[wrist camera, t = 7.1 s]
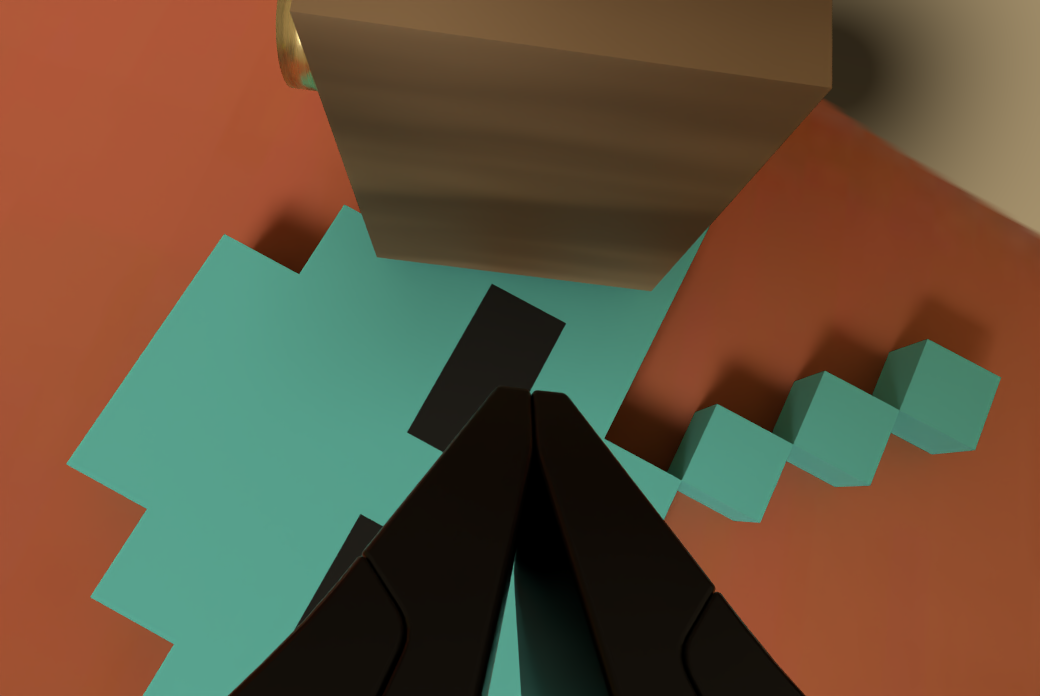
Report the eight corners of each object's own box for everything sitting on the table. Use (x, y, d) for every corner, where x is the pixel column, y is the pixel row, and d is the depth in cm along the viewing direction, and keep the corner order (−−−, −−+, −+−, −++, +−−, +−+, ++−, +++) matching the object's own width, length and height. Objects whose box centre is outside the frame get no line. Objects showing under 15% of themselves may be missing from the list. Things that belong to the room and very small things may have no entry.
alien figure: (946, 390, 21) (368, 85, 22) (1001, 377, 19) (358, 39, 20) (669, 1120, 17) (-51, 710, 17) (701, 1213, 14) (-124, 740, 15)
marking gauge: (651, 291, 18) (831, 87, 9) (344, 253, 17) (224, 2, 9) (668, 20, 20) (833, -368, 11) (390, -20, 19) (329, -457, 10)
